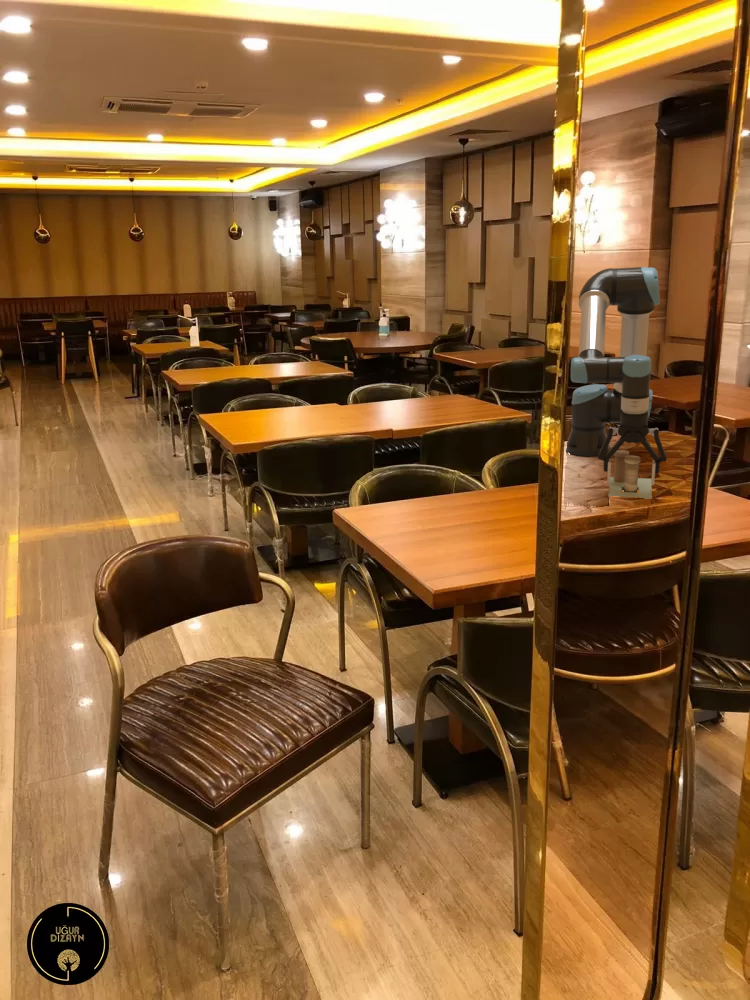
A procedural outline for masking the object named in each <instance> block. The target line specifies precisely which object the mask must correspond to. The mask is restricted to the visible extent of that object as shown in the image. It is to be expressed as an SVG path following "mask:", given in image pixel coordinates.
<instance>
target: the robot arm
mask: <svg viewBox="0 0 750 1000" xmlns="http://www.w3.org/2000/svg"><path fill="white" fill-rule="evenodd" d="M660 299H661V297H660V285H659V273H658V270H657V269H656V268H655V267H647V266H646V267H644V266H640V267H638V266H637V267H619V268H611V267H610V268H605V269H603V270H602V269H601V270H600V271H598V272H596V273H595V274H593V275H591V277H590V278H588V280H586V282H585V283H584V285H583V286H582V288H581V290H580V292H579V295H578V308H579V309H580V310H581V311H580V313H581V314H580V323H579V325H580V327H579V341H578V342H579V343H578V354H577V355H578V356H577V357H573V358H571V361H570V380H571V382H572V383H578V384H579V383H580V384H588V385H583V386H580V387H578V388H576V389H575V390H573V392H572V400H571V427H570V428H571V430H570V433H569V434H568V435H569V436H568V437H567V440H568V442H567V441H566V443H567V450H566V449H565V451H566V453H568V454H571V455H573V456H579V457H597V458H598V460H601V461H603V472H604V473H605V472H607V479H606V480H607V481H606V484H610V477H611V470H612V469H611V466H612V459H611V458H612V457H613V456H614V453H615V452H616V451H617V450H620V448H621V447H622V445H624V443H626V444H633V443H634V444H639V443H640V444H641V445H642V446H643V447H644V448H645V450H646V451H647V452H648V454H649V455H650V456H651V458H652V459H653V460H652V463H651V464H652V467H651V478H650V479H651V486H655V479H656V478H655V477H656V474H660V464H661V463H663V462H667V461H668V459H667V455H666V451H665V449H664V446H663V444H662V441H661V438H660V435H659V432H660V431H659V428H658V427H657V426H656V427H654V428H649V427H648V424H649V422H648V421H649V420H648V419H649V417H650V414H651V410H652V402H653V397H654V396H653V395H654V394H653V393H654V392H653V390H652V389H651V374H652V373H651V372H652V359H651V357H649V356H647V352H648V351H647V348H648V337H649V336H648V335H649V324H650V323H649V321H650V315H651V314H652V313H653V312H654V311H655V307H656V306H657V305H660V303H661V301H660ZM609 306H616V307H617V308H616V311H617V312H618V313H619V314H620V315H621V326H620V343H619V356H612V357H611V356H607V357H606V356H605V345H606V344H605V341H606V318H607V317H606V315H607V310H608V309H609ZM605 384H613V389H608V387H607V385H605ZM606 424H619V426H618V427H614V426H609V427H608V432H606ZM607 433H608V434H607ZM617 433H618V434H619V436H620V438H618V440H617V441H616V443H615V444H614V445H612V447H611V448H610V443H611V441H612V438H613V436H615V435H616V434H617ZM648 434H650V436H651V437H653V439H654V442H655V445H656V447H657V449H658V452H659V453H658V454H659V455H660V456H659V455H658V454H657V452H656V451H655V449H654V448H653V446H652V445H651V444H650V442H649V441H648V439H647V438H646V437H647V436H648Z"/></svg>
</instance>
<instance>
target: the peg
mask: <svg viewBox="0 0 750 1000" xmlns="http://www.w3.org/2000/svg"><path fill="white" fill-rule="evenodd" d="M641 459H642V458H641V457H640V456H639V455H630V454H629V456H626V457H625V462H626V468H625V484H624V492H635V493H637V482H638V478H639V465H640V463H641V461H642V460H641Z"/></svg>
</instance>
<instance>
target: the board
mask: <svg viewBox="0 0 750 1000" xmlns="http://www.w3.org/2000/svg"><path fill="white" fill-rule="evenodd" d="M613 456H614V470H613V471H614V472H613V476H610V483H608V485H609V486H608V495H607V497H609V496H620V497H635V498H637V497H640V498H644V499H652V500H653V496H652V495H653V494H652V491H653V490H652V485H651V479H652V478H646V477H645V478H642V477H641V478H640V477H638V482H637V490H639V493H635V492H622V490H624V484H625V468H626V462H625V457H626V456H630V451H629V450H625V449H618V450H617V451H616V452H615V453H614V454H613Z"/></svg>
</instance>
